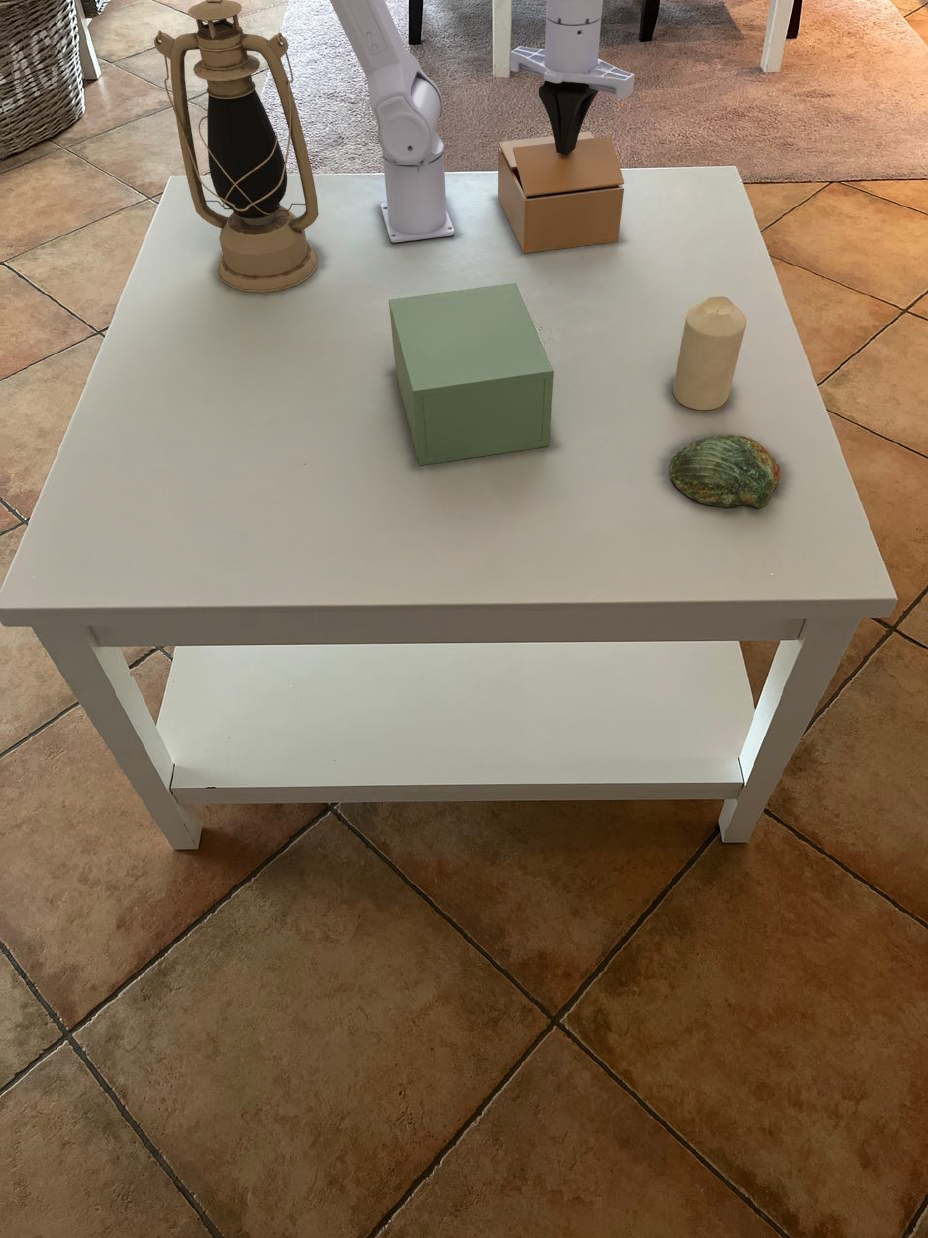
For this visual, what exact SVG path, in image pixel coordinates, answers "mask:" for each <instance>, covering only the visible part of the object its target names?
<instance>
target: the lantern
mask: <svg viewBox="0 0 928 1238" xmlns="http://www.w3.org/2000/svg"><path fill="white" fill-rule="evenodd" d="M242 9H243V6H242V5H241V3H239V2H237V1H233V0H203V1H201V2H199V3H197V4H195V5H192V6H191V7H190V8H188V10H187V13H186V14H187V15H188V16H189V17H190V18H192V19H194V20H195V22H196V25H197V32H190V33H189V32H188V33H182V34H180V35H178V36H177V37H175V38H174V37H172V36H171V35H169V33H166V32H163V31H162V30H160V29H159V30H158V31H157V35H156V36H155V37H154V39H153V44H154V47H155V49H156V50H157V51H158V52H159V53H160V54H161V55H163V57H164V65H165V71H166V77H165V78H164V80H163V83H164V89H165V92H166V94H167V97H168V100H169V102H170V105H171V107H172V110H173V113H174V116H175V120H176V126H177V134H178V138H179V145H180V149H181V154H182V160H183V166H184V170H185V175H186V180H187V184H188V189H189V192H190V197H191V200H192V202H193V207H194V209H195V212H196V213H197V215H199V216H200V217H201V218H202V219H203V220H204V221H206V222H207V223H209V224H210V225H212V226H215V227H216V228H219V229H221V230H220V233H219V243H220V247H221V252H222V255H221V256H220V259H219V261H218V265H217V270H216V271H217V274H218V276H219V278H220V280H221V282H222V283H224V284H225V285H227V286H228V287H230V288H231V289H234V290H238V291H241V292H245V293H262V294H265V293H272V292H279V291H284V290H287V289H289V288H293V287H295V286H298V285H300V284H302V283H303V282H305V281H306V280H308V279H309V278H311V277H312V275H314V273H315V272H316V271H317V269H318V268H319V260H320V259H319V258H320V257H319V255H318V253H317V251H316V249H315V248H314V247H313V246H312V245H311V243H309V242H308V241H307V237H306V231H305V230H306V229H307V228H309V227H310V226H311V225H313V224H314V222H316V220H317V219H318V217H319V215H320V214H319V203H318V196H317V190H316V185H315V180H314V174H313V170H312V169H313V168H312V165H311V160H310V156H309V151H308V148H307V143H306V139H305V134H304V132H303V126H302V123H301V119H300V115H299V110H298V107H297V105H296V101H295V97H294V93H293V90H292V87H291V84H293V83H294V75H293V74H294V73H293V70H292V66H291V62H290V59H289V58H290V57H289V55H288V50H289V43H288V40H287V39H286V37H285V36H283V33H282V32H280V31H279V32H278V33H277V34H274V35H273V36H272V37H271V38H270V39H268V38H266V37H264V36H262V35H258V34H252V33H244V29H243V27H242V26H240V23H239V17H238V14H240V13H241V12H242ZM231 18H232V22H230V21H228V20H227V19H231ZM204 22H207V23H204ZM197 50H198V51H199V53H200V57H201V59H200V60H198V62H196V63H195V64H194V66H193V68H192V70H193V73H194V75H195V76H196V77H197V78H199V79H202V80H205V81H206V84H207V88H206V92H207V94H208V96H207V115H204V116H202V118H200V120H199V122H198V134H199V136H200V139H201V141H202V142H203V144H204V146H205V148H206V149H207V158H208V169H209V174H210V178H211V181H212V185H213V188H214V191H215V192H214V191H212V190H211V189H210V188H208V186H207V185H206V184H205V183H204V182H203V181H202V177H201V176H200V175H201V174H200V170H199V165H198V160H197V154H196V153H197V152H196V148H195V142H194V136H193V131H192V124H191V117H190V110H189V102H188V93H187V85H186V64H185V63H186V62H185V58H186V55H187V52H188V51H197ZM248 52H256V53H258V54H260V55H261V56H262V58H263V59H264V60H265V61H266V64H267V66H268V69H269V71H270V74H271V77H272V79H273V82H274V84H275V88H276V91H277V94H278V97H279V101H280V104H281V108H282V111H283V114H284V117H285V122H286V126H287V128H288V141H287V147H286V152H285V153H286V154H285V157H284V154H283V151H282V148H281V145H280V142H279V140H278V137H279V136H278V132H277V131H275V130H274V128H273V124H272V123H271V121H270V118H269V116H268V113H267V111H266V108H265V106H264V104H263V102H262V100H261V98H260V96H259V93H258V91H257V90H256V87H257V84H256V83H255V81H253V77H252V74H254V73H256V72H257V71H258V70H259V69H260V67H261V62H260V60H259V59H258V58H257V57H256V56H254V55H252V54H248ZM283 56H285V57H286V60H287V64H288V69H289V73H290V80H289V78H288V77H289V76H288V75H287V73H286V69H285V67H284V64H283V62H282V61H283V60H282V57H283ZM168 60H170V61H169V63H170V65H169V67H170V74H169V67H168ZM169 75H170V77H169ZM169 78H170V79H169ZM169 80H170V82H171V90H172V98H173V101H172V98H171V95H170V92H169V89H168V85H167V81H169ZM205 119H207V143H206V142H205V140H204V138H203V136H202V133H201V123H202V121H203V120H205ZM291 143H292V148H293V153H294V157H295V160H296V165H297V169H298V174H299V178H300V182H301V188H302V193H303V198H304V203H291V204H290V206H289V208H286V207H284V206H282V205H281V201H283V199H284V197H285V195H286V192H287V187H288V173H287V172H288V171H287V163H288V157H289V152H290V151H289V150H290V144H291ZM203 188H205V189H206V190H207V191H208V192H209V193H211V194H212V195H213V196H215V197H216V198H218V199H219V200H220V201H221V202H220V201H219V200H206V197H205V194H204V189H203ZM208 203H218V204H219V205H220V206H221V208H223V210H231V211H232V213H230V215H229V216H225V215H223V214H220V213H218V212H216V211H215V210H213V209H212V208H211V207H210V206H209V205H208ZM293 206H305V211H304V212H303V214H301V215H300V216H296V215H295V214H294V213H292V212H291V211H290V210H291V208H292V207H293Z"/></svg>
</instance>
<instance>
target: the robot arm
mask: <svg viewBox="0 0 928 1238" xmlns="http://www.w3.org/2000/svg"><path fill="white" fill-rule="evenodd" d="M329 2H330V3H331V6H332V8H333V10H334V13H335V14H336V17H337V18H338V19H337V20H338V21H339V23H340V25H341V27H342V30H343V31H344V33H345V35H346V38H347V39H348V42H349V43H350V46H351V48H352V50H353V52H354V54H355V56H356V58H357V60H358V63H359V65H360V67H361V69H362V71H363V73H364V75H365V78H366V83H367V89H368V90H367V91H368V98H369V105H370V108H371V110H372V113H373V115H374V117H375V120H376V125H377V139H378V143H379V146H380V148H381V152H382V153H381V154H382V164H383V173H384V174H383V175H384V185H385V196H386V201H384V202H381V203H380V205H379V206H380V210H381V214H382V217H383V221H384V225H385V227H386V231H387V235H388V238H389V241H390V242H391V243H395V244H396V243H402V242H411V241H417V240H427V239H435V238H442V237H451V236H454V235H455V234H456V233H455V232H456V231H455V228H454V225H453V223H452V220H451V217H450V215H449V212H448V209H447V198H446V197H447V196H446V195H447V193H446V175H445V174H446V173H445V171H446V169H445V152H444V151H445V150H444V148H445V147H444V141H443V140H442V139H441V137H440V136H439V134H438V131H437V126H438V123H439V121H440V119H441V117H442V113H443V111H444V110H443V109H444V101H443V100H444V99H443V96H442V93H441V91H440V89H439V87H438V86H437V85H436V83H435V81H433V80H432V79H431V78H430V77H428V76H427V75H426V73H425V72H424V71H423V69H422V67H421V66H420V63H419V60H418V59H417V58H416V57H415V56H414V55H413V54H412V53H410V52H409V50H407V48H406V47H405V44H404V42H403V40H402V37H401V34H400V32H399V30H398V28H397V26H396V23H395V21H394V19H393V16H392V14H391V12H390V10H389V7H388V5H387V3H386V1H385V0H329ZM603 4H604V0H546V12H545V13H546V14H545V16H546V17H545V37H544V38H545V41H544V48H534V47H529V46H528V47H527V46H521V45H520V46H518V47H517V48H515V49H512V50H511V51H509V59H510V60H509V71H510V72H514V73H520V72H521V71H522V72H526V73H530V74H533V75H537V76H541V77H543V79H544V81H543V84H542V85H540V86H539V87H538V97H539V99H540V101H541V103H542V104H543V107H544V108H545V111H546V114H547V116H548V119H549V122H550V126H551V130H552V134H553V135H552V136H554V140H555V146H556V152H557V153H560V154H563V155H567V154H569V153H570V152H572V151H573V150H574V149H575V147H576V143H577V139H578V136H579V133H581V129H582V126H583V123H584V120H585V118H586V116H587V115H588V112H589V110H590V107H591V106H592V104H593V102H594V100H595V98H596V97H597V95H598V94H599V92H603V93H607V94H609V95H610V94H611V95H615V96H614V97H615V98H616V99H619V100H621V101H624V100H625V99H627V98H628V97H630V96H631V95H632V94H633V93H634V84H635V75H636V74H635V73H632V72H629V71H625V70H623V69H621V68H618V67H617V66H615V65H612V64H610V63H608V62H607V61H604V60H602V59H600V58H599V51H600V40H601V26H602V17H603V16H602V15H603V6H604V5H603Z"/></svg>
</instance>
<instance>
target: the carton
mask: <svg viewBox="0 0 928 1238" xmlns="http://www.w3.org/2000/svg"><path fill="white" fill-rule="evenodd" d="M590 138H596V137H595V136H594V134H593V133H592V132H591V131H583V132H579V136H578V139H577V140H582V139H590ZM548 143H555V140H554V135H550V136H549V135H548V136H542V137H533V138H524V139H515V140H506V141H499V142H498V146H499V147H498V148H497V200H498V202H499V204H500V206H501V208H502V211H503V213H504V215H505V217H506V219H507V221H508V224H509V226H510V228H511V231H512V232H513V235H514V236H515V240H516V241H517V243H518V245H519V247H520V250H521V251H522V254H523V255H524V254H532V253H539V252H540V253H541V252H546V251H547V252H548V251H556V250H561V249H562V250H563V249H571V248H578V247H586V246H593V245H600V244H608V243H609V244H610V243H617V242H619V238H620V229H621V220H622V211H623V202H624V195H625V193H624V192H625V187H624V186H623V185H615V186H607V187H599V188H591V189H583V190H574V191H566V192H558V193H550V194H542V195H534V196H526V197H525V195H524V191H523V187H522V183H521V179H520V175H519V172H518V168H517V164H516V160H515V156H514V152H513V148H514V147H523V146H531V145H539V144H548Z"/></svg>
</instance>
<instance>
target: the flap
mask: <svg viewBox="0 0 928 1238" xmlns="http://www.w3.org/2000/svg"><path fill="white" fill-rule="evenodd" d="M513 152H514V156H515V160H516V164H517V168H518V172H519V175H520V179H521V183H522V187H523V191H524V195H525V197H526V196H534V195H542V194H550V193H558V192H566V191H574V190H583V189H591V188H599V187H607V186H615V185H622V186H623V185H625V180H624V177H623V174H622V170H621V166H620V163H619V159H618V157H617V153H616V150H615V147H614V143H613V139H612V136H611V135H607V136H600V137H595V138H590V139H582V140H577V143H576V147H575V149H574V150H573V151H572V152H570V153H569V154H567V155H563V154H560V153H557V152H556V146H555V143H548V144H539V145H531V146H523V147H514V148H513Z"/></svg>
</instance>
